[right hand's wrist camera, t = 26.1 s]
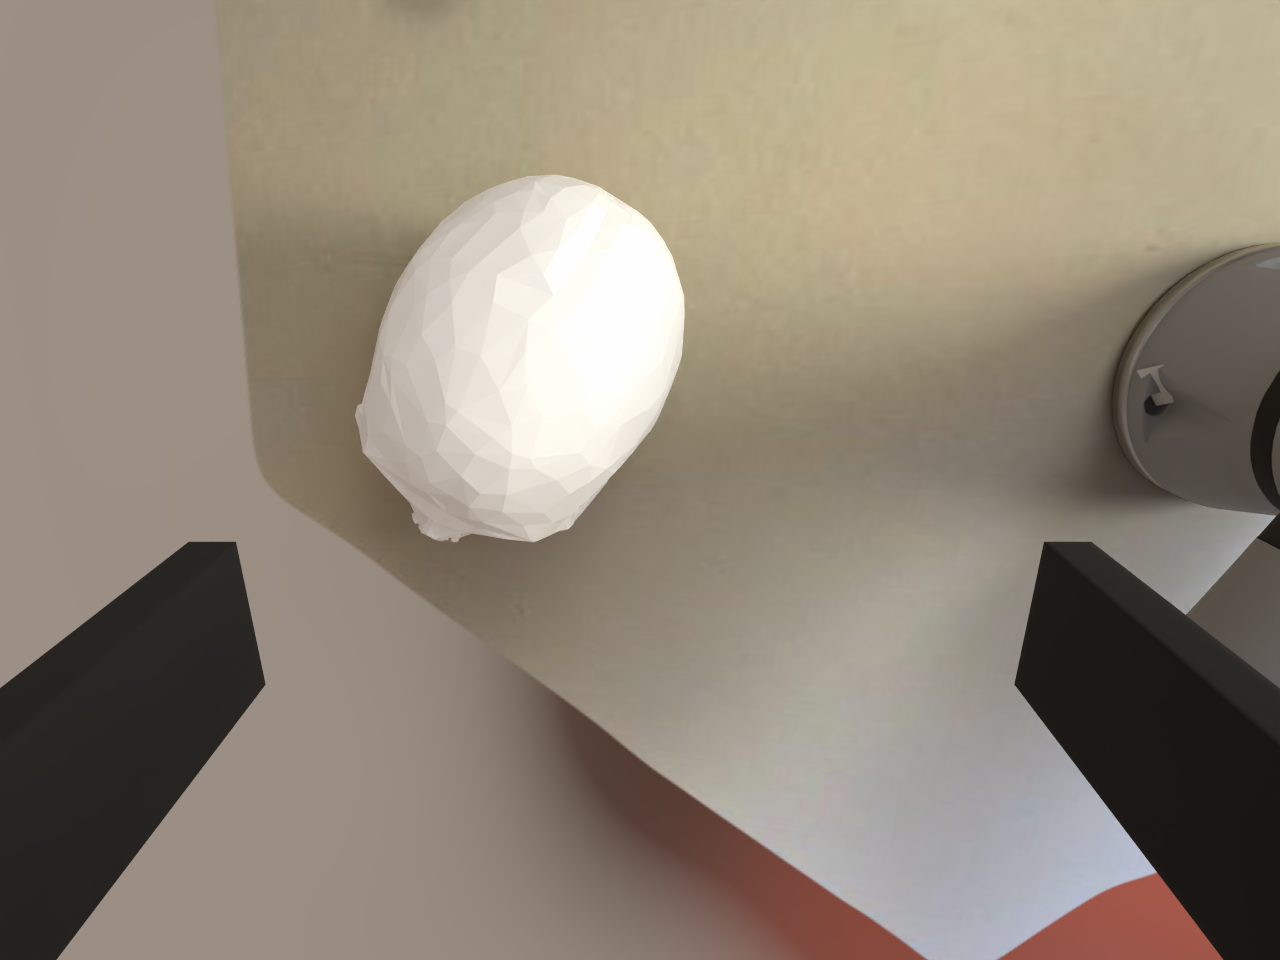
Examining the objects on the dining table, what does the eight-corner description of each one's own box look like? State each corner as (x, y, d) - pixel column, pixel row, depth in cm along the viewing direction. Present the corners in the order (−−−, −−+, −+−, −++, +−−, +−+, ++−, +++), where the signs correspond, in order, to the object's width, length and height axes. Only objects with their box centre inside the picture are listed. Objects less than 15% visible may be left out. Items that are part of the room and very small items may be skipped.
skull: (353, 478, 47) (234, 615, 32) (493, 130, 40) (423, 102, 25) (550, 562, 50) (523, 725, 35) (714, 249, 43) (767, 286, 28)
